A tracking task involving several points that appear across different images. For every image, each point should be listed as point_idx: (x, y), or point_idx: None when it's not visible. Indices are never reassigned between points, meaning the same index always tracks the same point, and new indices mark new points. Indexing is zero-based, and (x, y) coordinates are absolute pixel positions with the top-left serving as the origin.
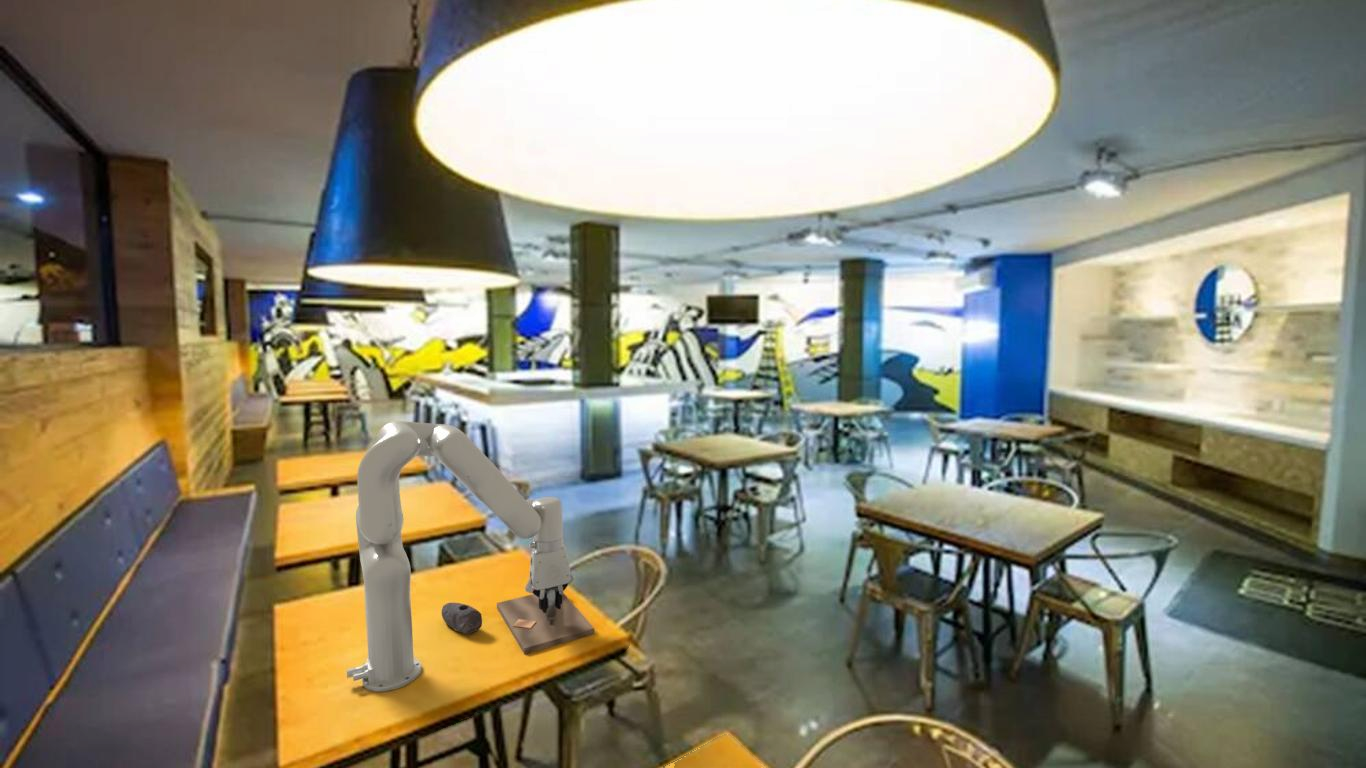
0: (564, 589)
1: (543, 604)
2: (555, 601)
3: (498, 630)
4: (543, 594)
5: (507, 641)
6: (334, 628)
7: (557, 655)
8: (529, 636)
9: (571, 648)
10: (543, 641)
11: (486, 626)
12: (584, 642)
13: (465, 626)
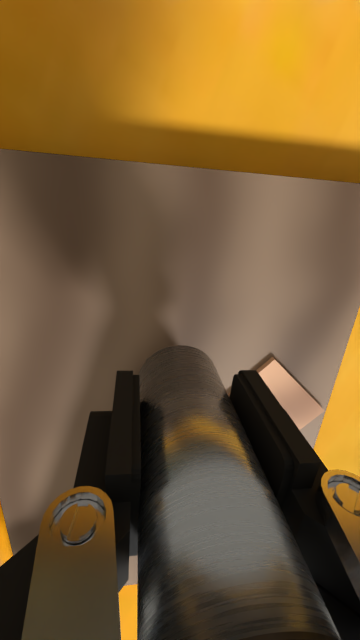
0: (8, 565)
1: (283, 422)
2: (162, 427)
3: (335, 426)
4: (356, 528)
5: (356, 339)
6: None
7: (250, 42)
8: (312, 291)
9: (144, 66)
10: (285, 193)
11: (349, 464)
12: (39, 82)
13: None
